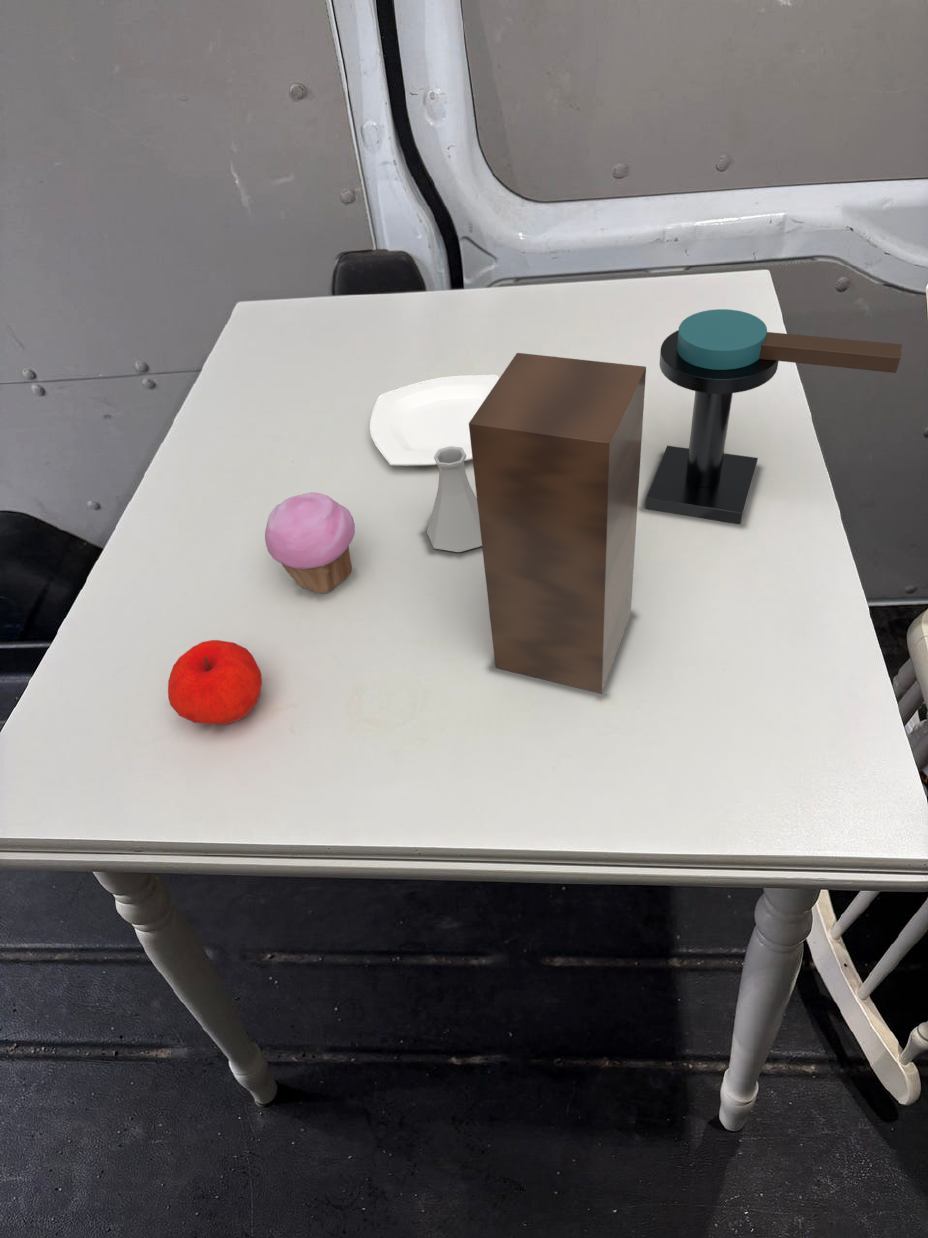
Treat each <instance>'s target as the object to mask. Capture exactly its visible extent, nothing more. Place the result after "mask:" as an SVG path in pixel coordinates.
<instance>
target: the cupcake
mask: <svg viewBox="0 0 928 1238" xmlns="http://www.w3.org/2000/svg"><path fill="white" fill-rule="evenodd" d="M355 533H356V524H355V520H354V517H353V515H352V513H351V511H350V510H349V508H347V507H346V506H344V505H342V504H340V503H339V502H337V501H335V500H334V499H333V498H332V497H330V496H329V495H326V494H324V493H320V492H313V491H311V492H307V493H306V492H305V493H301V494H297V495H294V496H291V497H287V498H286V499H284V500H282V502H281V503H279V504H277V505H276V506H274V508H273V509H272V510H271V511H270V512H269V515H268V517H267V521H266V526H265V532H264V541H265V547H266V548H267V549H266V550H267V552H268V553H269V555H270V556H271V558H272V559H273V560H275V561H276V562H277V563H278V562H279V563H280V564H281V566H282V567H283V568H284V569H285V571H286V572H287V573H288V575H290V577H291V578H292V579H294V581H295V582H296V583H297V584H298V586H299V587H300V588H306V589H308V590H310V591H312V592H313V593H318V594H326V593H329V592H331V591H332V590H333V589H334V588H336V587H337V586H338V585H339V584H340V583H342V582H343V581H345V580H346V579H347V577H348V576H349V575H350V574H352V570H353V567H352V560H351V552H350V545H351V543H352V541H353V539H354V537H355Z"/></svg>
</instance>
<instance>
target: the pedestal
mask: <svg viewBox="0 0 928 1238" xmlns="http://www.w3.org/2000/svg"><path fill="white" fill-rule="evenodd" d="M646 376H647V366H646V365H645V366H644V365H635V364H634V365H633V364H625V363H616V362H608V361H598V360H597V361H596V360H589V359H588V360H587V359H579V358H571V357H569V358H568V357H561V356H560V357H559V356H550V355H543V354H533V353H524V352H523V353H522V352H516V353H515V355H514V356H513V358H512V359H511V361H510V362H509V363H508V365H507V367H506V368H505V369H504V371H503V372H502V374H501V375H500V376H499V377H500V378H499V380H498V381H497V383H496V384H495V386H494V387H493V389H492V390H491V392H490V393H489V394H488V396H487V397H486V399H485V400H484V402H483V403H482V405H481V406H480V408H479V409H478V411H477V412H476V413H475V415H474V416H473V418H472V419H471V421H470V422H469V431H470V440H471V449H472V458H473V459H472V466H473V475H474V484H475V486H474V487H475V493H476V495H475V496H476V498H477V504H478V513H479V522H480V531H481V540H482V546H481V549H482V557H483V567H484V575H485V585H486V593H487V603H488V611H489V621H490V629H491V631H490V632H491V638H492V639H491V640H492V648H493V649H492V650H493V657H494V658H493V659H494V667H495V669H498V670H503V671H506V672H511V673H515V674H518V675H519V674H520V675H522V676H528V677H532V678H536V679H539V680H545V681H548V682H553V683H557V684H560V685H565V686H569V687H572V688H578V689H580V690H586V691H590V692H594V693H598V694H603V692H604V689H605V686H606V684H607V682H608V678H609V675H610V674H611V670H612V668H613V664H614V662H615V660H616V656H617V653H618V651H619V648H620V646H621V643H622V640H623V637H624V635H625V633H626V630H627V626H628V624H629V621H630V618H631V616H632V615H631V614H632V598H633V586H634V585H633V583H634V568H635V567H634V566H635V551H636V538H637V537H636V535H637V522H638V521H637V520H638V519H637V518H638V503H639V489H640V472H641V457H642V456H641V455H642V441H643V439H642V437H643V426H644V425H643V424H644V407H645V393H646V379H647V378H646Z"/></svg>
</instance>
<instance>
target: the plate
mask: <svg viewBox="0 0 928 1238" xmlns="http://www.w3.org/2000/svg"><path fill="white" fill-rule="evenodd" d="M500 377H501V376H499V375H498V374H468V375H467V374H466V375H465V374H463V375H450V376H442V377H435V378H431V379H427V380H422V381H419V382H415V383H412V384H411V383H410V384H407V385H405V386H404V385H403V386H401V387H399V388H395V389H392V390H390V391H389V390H388V391H387V392H383V393H381V394H379V395H378V398H377V399H376V402H375V404H374V406H373V409H372V412H371V415H370V420H369V433H370V437H371V439H372V441H373V443H374V445H375V447H376V448H377V450H378V451H379V452H380V453H381V456H383V458H384V459H385V460H386V462H387V463H388V464H389V465H390V466H404V467H405V466H407V467H408V466H436V465H437V463H436V461H435V459H434V456H435V454H436V453H437V451H438V449H442V448H446V447H449V446H453V447H461V448H463V450H464V452H465V454H466V459H465V461H471V460H473V458H472V449H471V440H470V431H469V422H470V421H471V419H472V418H473V416H474V415H475V413H476V412H477V411H478V409H479V408H480V406H481V405H482V403H483V402H484V400H485V399H486V397H487V396H488V394H489V393H490V392H491V390H492V389H493V387H494V386H495V384H496V383H497V381H498V380H499V378H500ZM465 461H464V462H465ZM437 466H438V465H437Z"/></svg>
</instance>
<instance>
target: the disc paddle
mask: <svg viewBox="0 0 928 1238" xmlns="http://www.w3.org/2000/svg"><path fill="white" fill-rule="evenodd" d="M902 349H903V344H902V343H893V342H892V343H891V342H880V341H872V340H871V341H869V340H860V339H859V340H858V339H849V338H848V339H847V338H836V337H827V336H826V337H825V336H814V335H804V334H794V333H784V332H783V333H782V332H772V331H771V332H770V331H768V328H767V324H765V322H764V320H762V319H761V318H760V317H758V316H755V315H754V314H751V313H749V312H745V311H742V310H737V309H727V308H726V309H725V308H722V309H721V308H720V309H719V308H718V309H717V308H716V309H708V310H702V311H699V312H696V313H694V314H691V315H689V316H687V317H685V318H684V319H683V320H682V321H681V322H680V324H679V326H678V341H677V352H678V354H679V356H680V357H681V358H682V359H683V360H685V361H686V362H688V363H690V364H692V365H694V366H697V367H701V368H705V369H712V370H730V369H737V368H742V367H745V366H748V365H750V364H752V363H754V362H756V361H757V360H758V359H764V360H774V361H779V362H783V363H794V364H804V365H813V366H814V365H815V366H824V367H834V368H841V369H842V368H844V369H853V370H863V371H873V372H882V373H883V372H884V373H893V374H897V371H898V368H899V364H900V360H901V359H902V358H901V357H902Z"/></svg>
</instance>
